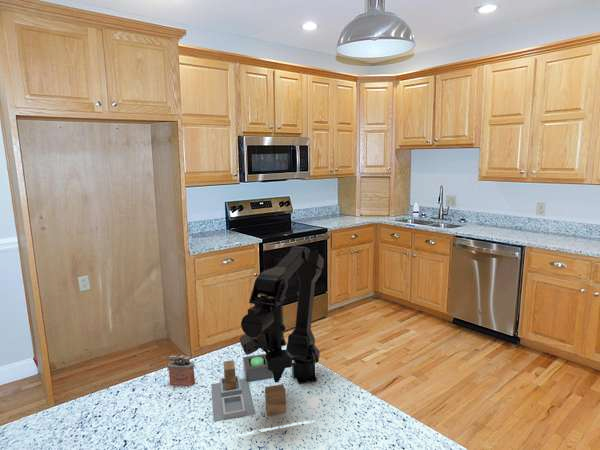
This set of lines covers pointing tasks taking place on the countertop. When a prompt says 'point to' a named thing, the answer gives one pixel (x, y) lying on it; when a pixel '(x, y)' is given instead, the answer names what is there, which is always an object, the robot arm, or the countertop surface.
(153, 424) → the countertop surface
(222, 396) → the grey socket board
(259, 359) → the button
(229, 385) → the billet
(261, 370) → the button box
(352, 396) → the countertop surface
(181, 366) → the lighter
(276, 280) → the robot arm
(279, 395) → the billet
